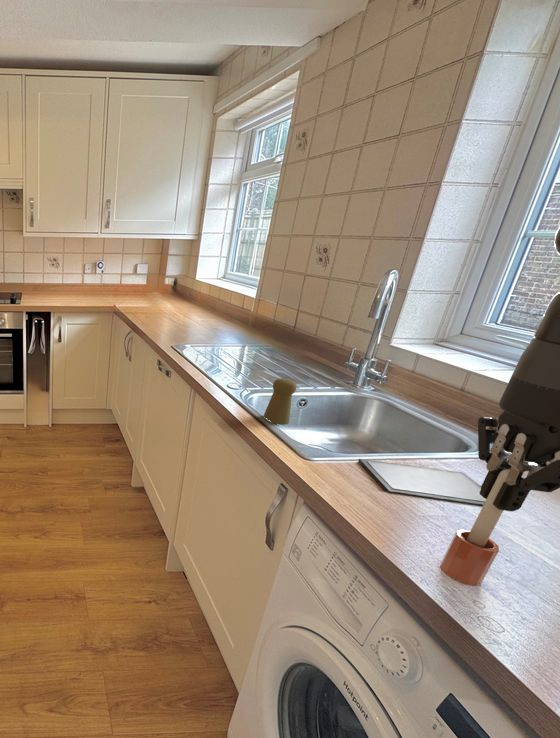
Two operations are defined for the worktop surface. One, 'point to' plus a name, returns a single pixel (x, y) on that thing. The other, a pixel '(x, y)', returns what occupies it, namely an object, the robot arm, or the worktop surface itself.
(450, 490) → the tablet
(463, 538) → the pen cup
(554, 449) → the robot arm
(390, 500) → the worktop surface
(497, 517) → the beige wooden rod
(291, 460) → the worktop surface
